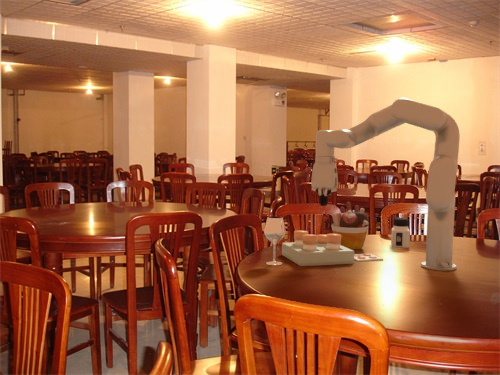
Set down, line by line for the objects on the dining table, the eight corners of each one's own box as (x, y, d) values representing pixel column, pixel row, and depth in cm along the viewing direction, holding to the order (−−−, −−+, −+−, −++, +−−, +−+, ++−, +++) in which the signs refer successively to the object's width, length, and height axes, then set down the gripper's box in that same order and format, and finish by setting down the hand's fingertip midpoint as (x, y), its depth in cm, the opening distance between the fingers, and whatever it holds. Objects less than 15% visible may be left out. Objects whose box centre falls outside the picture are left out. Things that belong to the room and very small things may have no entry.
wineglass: (259, 264, 209) (260, 217, 208) (269, 260, 216) (270, 215, 215) (279, 267, 205) (280, 219, 204) (288, 263, 212) (289, 216, 211)
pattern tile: (383, 260, 220) (383, 258, 220) (358, 261, 217) (358, 259, 217) (370, 254, 231) (370, 252, 231) (346, 255, 228) (346, 253, 228)
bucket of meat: (369, 252, 235) (371, 206, 233) (330, 251, 237) (332, 205, 235) (365, 244, 255) (367, 201, 253) (330, 243, 257) (331, 200, 255)
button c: (319, 254, 212) (319, 236, 212) (305, 254, 211) (306, 236, 210) (313, 251, 218) (314, 234, 217) (300, 252, 216) (300, 234, 216)
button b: (332, 253, 225) (332, 236, 224) (319, 253, 223) (320, 236, 223) (326, 250, 230) (327, 234, 230) (314, 251, 229) (314, 234, 228)
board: (353, 263, 213) (354, 250, 213) (300, 266, 207) (300, 253, 207) (330, 252, 234) (331, 241, 234) (281, 254, 228) (282, 242, 228)
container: (409, 248, 248) (410, 219, 247) (391, 247, 249) (392, 218, 248) (408, 245, 255) (409, 217, 254) (391, 244, 257) (392, 216, 256)
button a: (342, 253, 215) (343, 235, 214) (329, 253, 214) (330, 236, 213) (336, 250, 220) (337, 233, 220) (324, 251, 219) (324, 233, 218)
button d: (309, 249, 222) (310, 232, 221) (296, 250, 220) (296, 232, 220) (304, 247, 227) (305, 230, 227) (291, 247, 226) (292, 230, 225)
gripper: (345, 161, 222) (344, 206, 224) (311, 160, 230) (310, 203, 231) (338, 161, 216) (337, 207, 217) (304, 160, 224) (303, 205, 225)
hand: (323, 205), depth 224 cm, fingers closed
